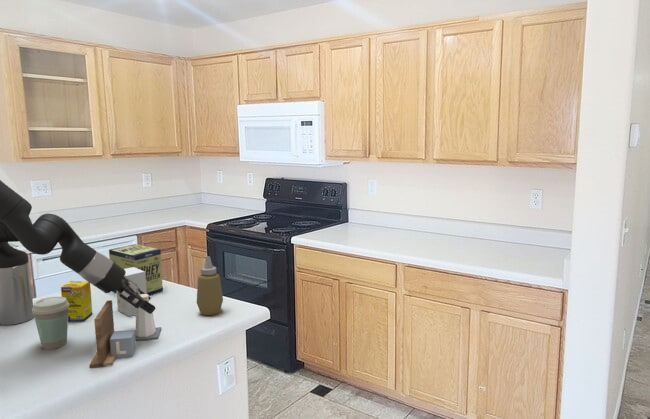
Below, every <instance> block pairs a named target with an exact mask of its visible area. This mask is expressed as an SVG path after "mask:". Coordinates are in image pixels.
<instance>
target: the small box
mask: <svg viewBox="0 0 650 419" xmlns="http://www.w3.org/2000/svg"><path fill="white" fill-rule="evenodd" d="M124 270H125V271H126V273H125V276H124V277H126V278H127V279H129V280H130V281H132V282H133V283H134V284H137V286H138V287H139V288H140V289H141V291H143V292H144V293H146V294H147V290H146V275H145V271H142V270H140V269H137V268H135V267H131V268H126V269H124ZM116 292H117V293H116V304H117V311H119V312H121V313H122V314H124V315H126V316H128V317H132V316H136V308H135V307H134V306H133V305H131V304H130V303H129V302H127V301H126V300H124V299H123V298H121V297H120V296H119V294H118V293H119V292H118V291H117V290H116ZM135 302H136V303H137V302H138V299H137V298H136V299H135Z"/></svg>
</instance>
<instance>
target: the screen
mask: <svg viewBox="0 0 650 419" xmlns="http://www.w3.org/2000/svg"><path fill="white" fill-rule="evenodd" d="M113 310H114V309H113V300H111V299H110V300H106V301H105V303H104V304H103V306H102V308H101V309H100V310H99V312H98V313H97V314H96V317H95V318H94V319H93V320H94V334H95V344H96V346H95V347H96V352H95V354H94V356H93V358H92V359H91V361H90V363H89V368H90V369H91V368H103V367H112V366H113V365H114V362H115V360H116V359H117V358H116V356H115V355H111V348H110V338H111V336H112V335H113V333H114V331H115V325H114V324H115V323H114V311H113Z"/></svg>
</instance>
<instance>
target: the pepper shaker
mask: <svg viewBox="0 0 650 419" xmlns="http://www.w3.org/2000/svg"><path fill="white" fill-rule="evenodd" d="M140 296H141V297H143V298H144V299H145V300H146V301H148V300H149V298H148V297H149V295H148V294H141V295H140ZM138 301H139V300H138ZM149 301H150V300H149ZM149 301H148V302H149ZM149 303H150V302H149ZM155 322H156V321H155V318H154V311H153V312H152V313H151V314H149V313H148V312H146V311H145V310H143V309H142V308H140V307H139V308H136V315H135V328H134V330H135V335H137V336H138V337H148V336H151V335H153V334H154V333H155V332H156V328H157V327H156V323H155Z"/></svg>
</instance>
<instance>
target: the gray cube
mask: <svg viewBox="0 0 650 419" xmlns="http://www.w3.org/2000/svg"><path fill="white" fill-rule="evenodd" d="M136 342H137V341H136V339H135V329H126V330H125V329H124V330H114V333H113V335H112V336H111V338H110V348H111V355H115V356H116V358H115V359H117V358H118V359H120V358H129V357H134V355H135V352H136V350H137V343H136Z"/></svg>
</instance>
